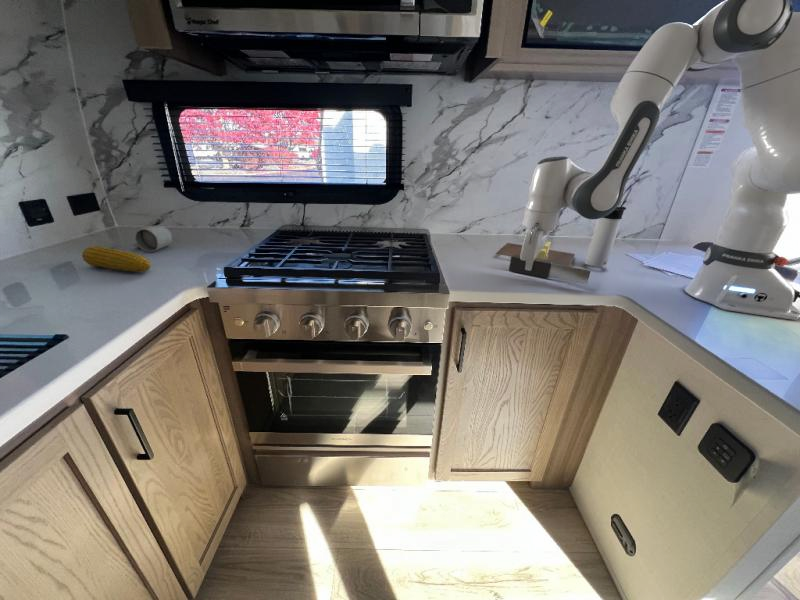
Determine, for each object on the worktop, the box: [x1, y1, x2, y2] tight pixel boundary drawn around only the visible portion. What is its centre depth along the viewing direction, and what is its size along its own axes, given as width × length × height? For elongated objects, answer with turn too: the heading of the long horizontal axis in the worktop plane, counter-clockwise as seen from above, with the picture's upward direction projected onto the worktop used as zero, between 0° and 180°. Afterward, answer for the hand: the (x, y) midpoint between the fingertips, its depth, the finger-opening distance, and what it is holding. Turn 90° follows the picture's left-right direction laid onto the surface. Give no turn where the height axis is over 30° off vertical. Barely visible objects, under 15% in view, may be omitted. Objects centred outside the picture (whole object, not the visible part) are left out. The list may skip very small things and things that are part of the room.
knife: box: [508, 255, 592, 285], centre depth 95 cm, size 21×3×4 cm, turn 60°
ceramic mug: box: [134, 225, 173, 253], centre depth 111 cm, size 11×8×8 cm
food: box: [81, 246, 151, 273], centre depth 93 cm, size 21×6×6 cm, turn 77°
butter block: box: [543, 241, 552, 256], centre depth 118 cm, size 5×7×4 cm
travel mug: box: [584, 206, 627, 272], centre depth 105 cm, size 6×7×20 cm
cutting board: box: [495, 242, 576, 267], centre depth 117 cm, size 24×17×2 cm
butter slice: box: [537, 249, 547, 260], centre depth 111 cm, size 5×3×4 cm, turn 61°
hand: (529, 267), depth 97 cm, fingers closed on knife, 2 cm apart
